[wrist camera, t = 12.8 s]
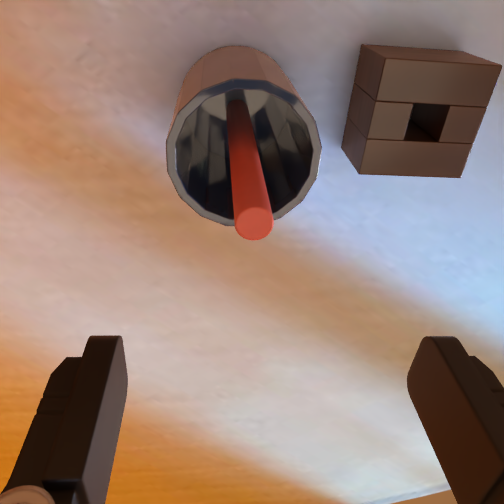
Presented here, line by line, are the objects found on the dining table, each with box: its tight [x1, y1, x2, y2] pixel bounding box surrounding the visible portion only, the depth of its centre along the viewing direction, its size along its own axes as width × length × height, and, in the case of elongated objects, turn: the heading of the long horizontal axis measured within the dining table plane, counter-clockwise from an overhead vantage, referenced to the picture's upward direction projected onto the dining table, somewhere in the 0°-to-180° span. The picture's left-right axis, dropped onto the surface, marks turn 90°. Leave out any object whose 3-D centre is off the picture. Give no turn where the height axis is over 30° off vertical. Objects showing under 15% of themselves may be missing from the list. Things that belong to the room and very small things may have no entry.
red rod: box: [226, 100, 274, 240], centre depth 24 cm, size 2×2×16 cm
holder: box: [341, 44, 502, 178], centre depth 29 cm, size 7×7×5 cm
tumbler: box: [166, 46, 322, 226], centre depth 27 cm, size 8×8×10 cm
